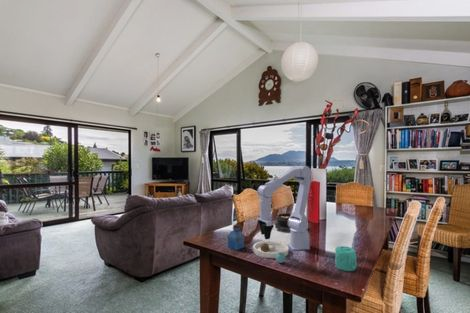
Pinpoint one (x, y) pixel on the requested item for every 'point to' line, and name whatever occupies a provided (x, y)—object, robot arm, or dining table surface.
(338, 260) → the decorative dice
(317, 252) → the dining table surface
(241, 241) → the perfume bottle
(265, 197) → the robot arm
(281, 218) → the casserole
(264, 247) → the walnut bead
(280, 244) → the tray
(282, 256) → the teal bead
